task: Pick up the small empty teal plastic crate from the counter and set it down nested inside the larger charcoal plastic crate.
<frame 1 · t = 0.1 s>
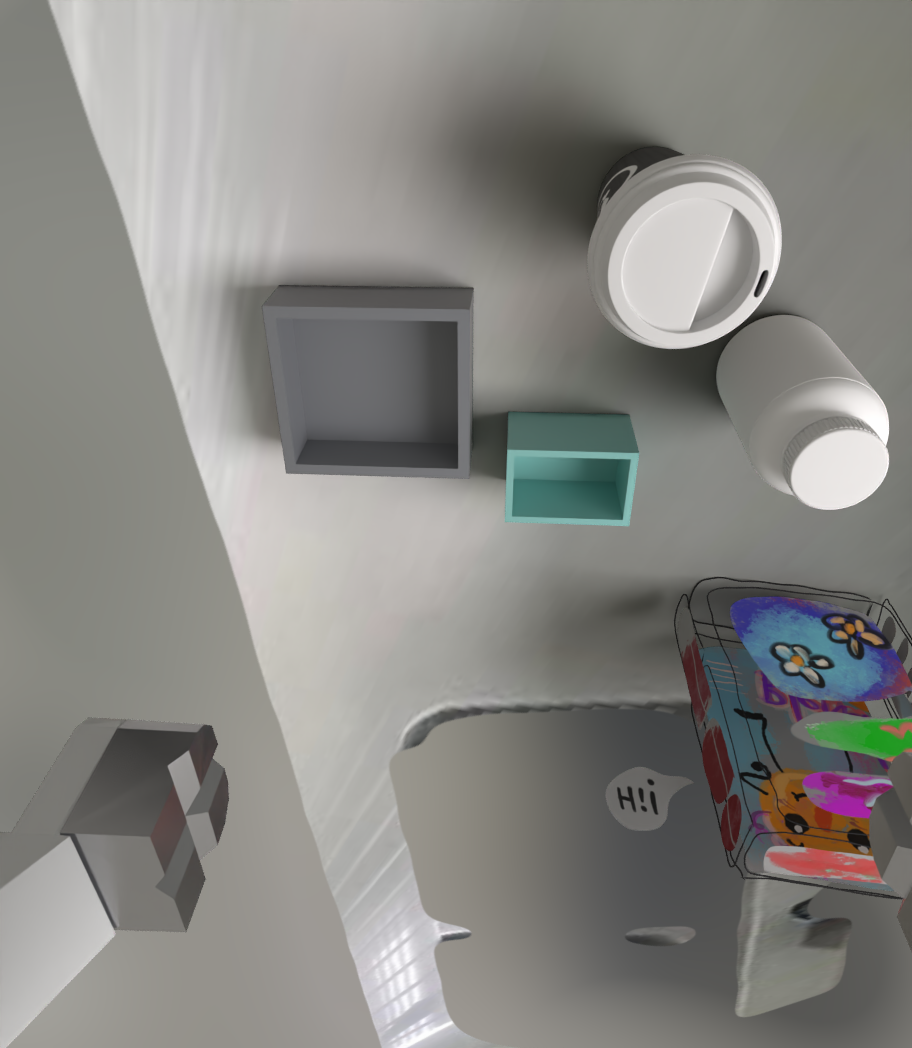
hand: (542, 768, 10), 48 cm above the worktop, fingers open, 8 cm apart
coffee cup: (647, 201, 51), on the worktop
small crate: (565, 448, 61), on the worktop
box: (727, 604, 68), on the worktop
large crate: (381, 371, 58), on the worktop
pill bottle: (769, 365, 56), on the worktop
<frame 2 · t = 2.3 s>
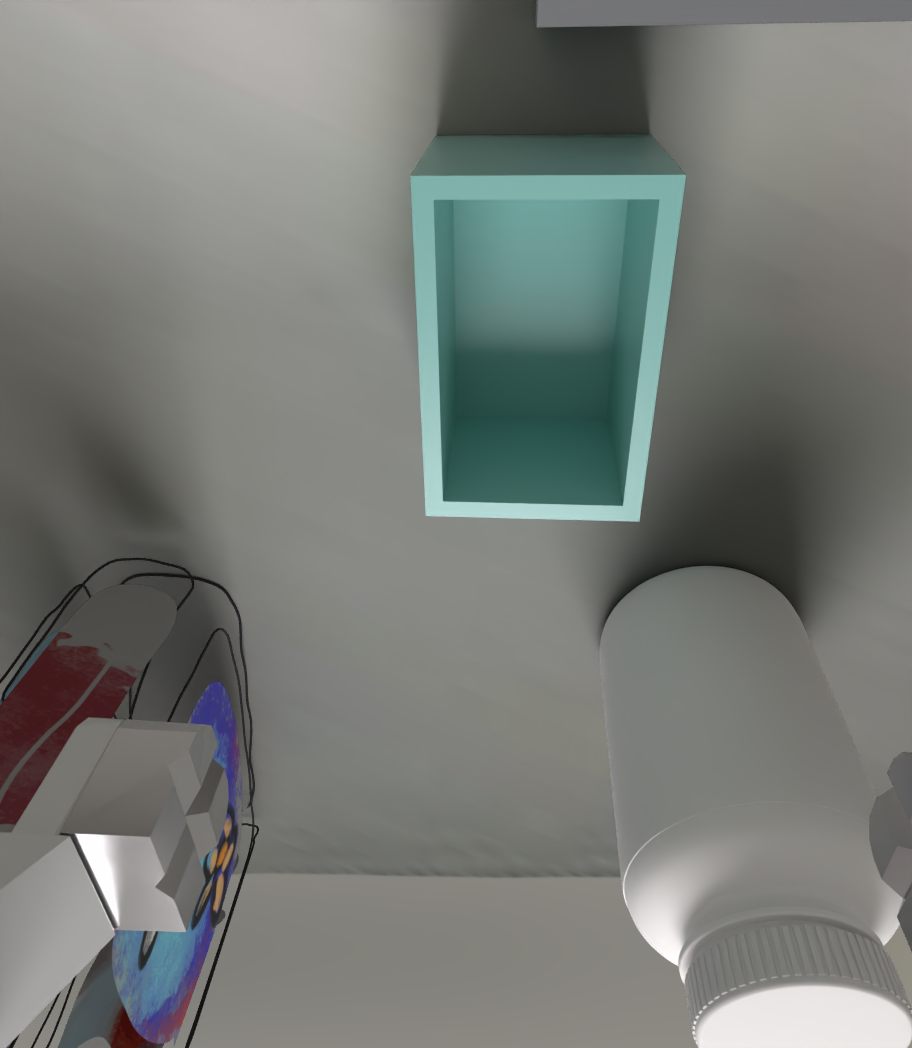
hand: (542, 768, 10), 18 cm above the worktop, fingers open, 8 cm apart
small crate: (535, 293, 25), on the worktop
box: (175, 631, 34), on the worktop
pill bottle: (694, 633, 32), on the worktop
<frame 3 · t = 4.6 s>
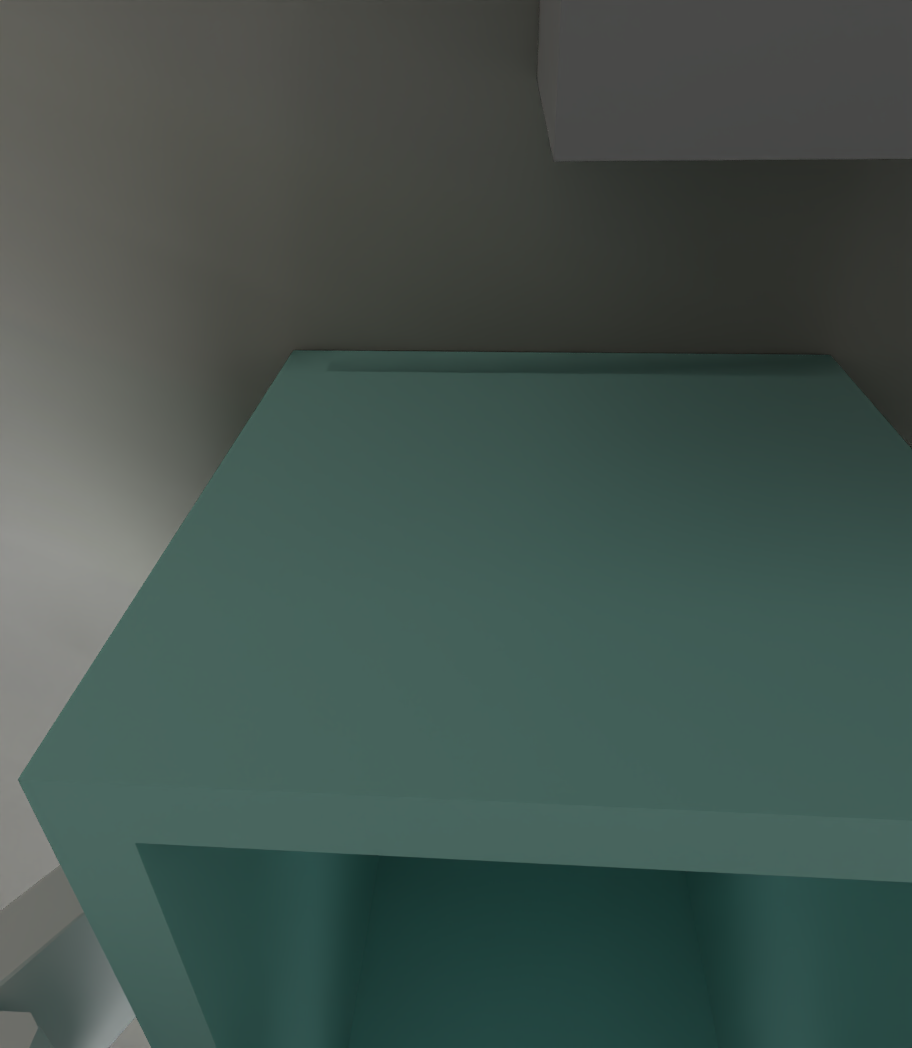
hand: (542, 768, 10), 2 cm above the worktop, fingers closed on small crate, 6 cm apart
small crate: (539, 650, 11), on the worktop, touching gripper
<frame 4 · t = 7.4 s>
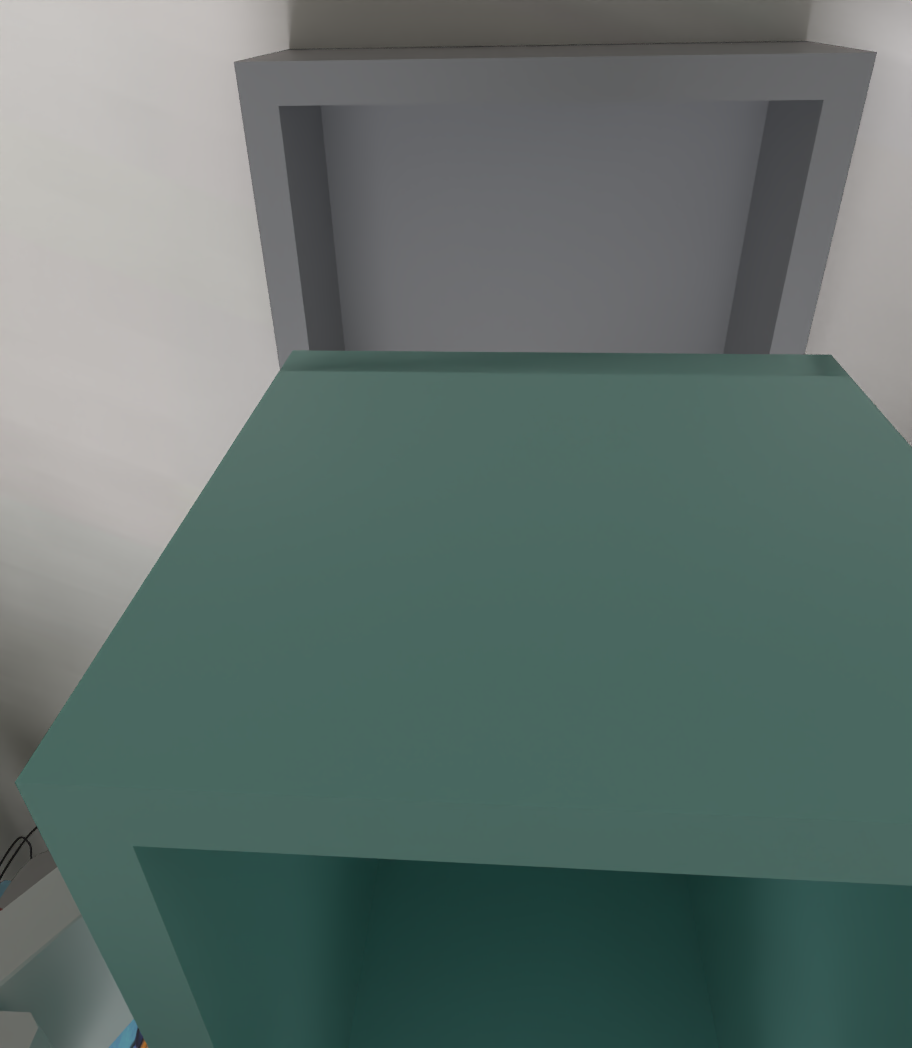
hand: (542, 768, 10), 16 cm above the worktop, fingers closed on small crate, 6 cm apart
small crate: (539, 650, 11), point 14 cm above the worktop, touching gripper
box: (103, 860, 41), on the worktop
large crate: (531, 317, 23), on the worktop
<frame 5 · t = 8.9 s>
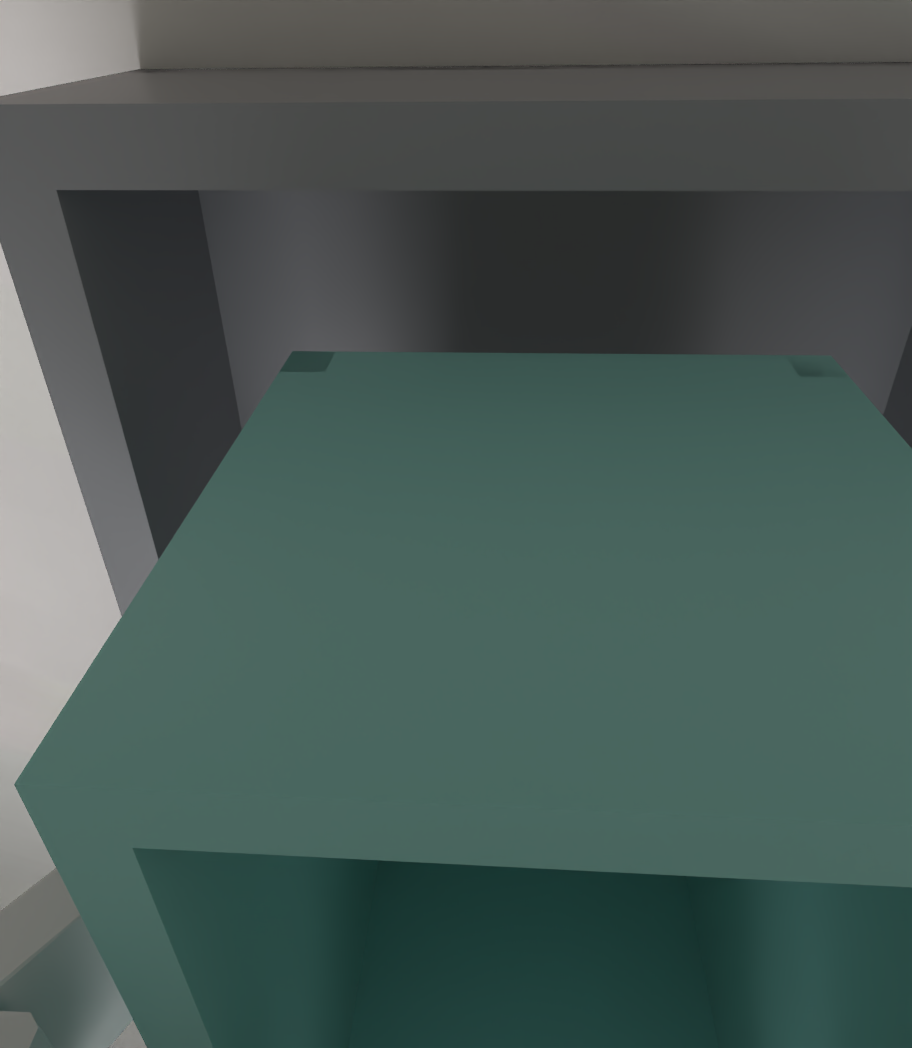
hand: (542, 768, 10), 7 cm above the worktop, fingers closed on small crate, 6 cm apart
small crate: (539, 651, 11), point 5 cm above the worktop, touching gripper
large crate: (545, 478, 15), on the worktop
when the fingers open (5 cm above the worktop, at t = 10.2 s): small crate drops 2 cm, resting on large crate.
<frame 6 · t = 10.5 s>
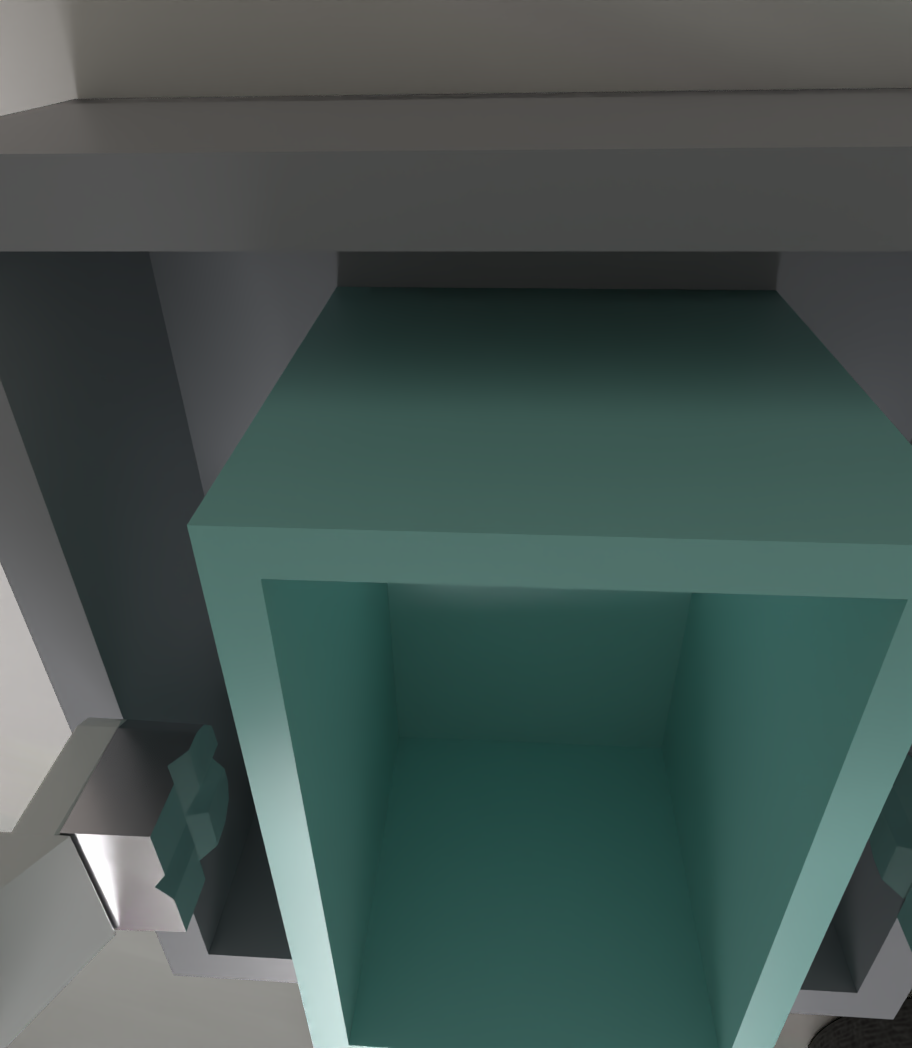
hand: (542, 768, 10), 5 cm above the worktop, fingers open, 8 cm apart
small crate: (537, 553, 13), point 1 cm above the worktop, touching large crate
large crate: (533, 533, 14), on the worktop
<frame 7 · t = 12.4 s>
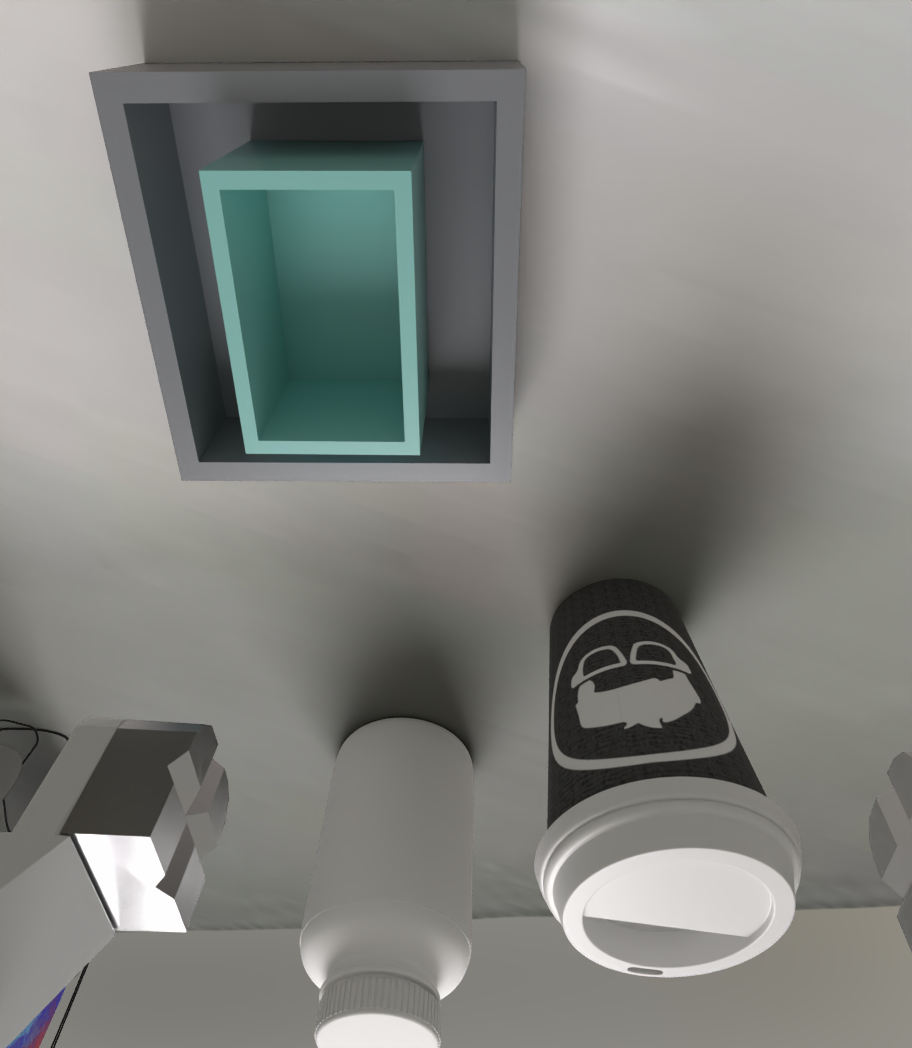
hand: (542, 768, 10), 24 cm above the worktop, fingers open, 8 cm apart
coffee cup: (613, 627, 40), on the worktop
small crate: (346, 272, 30), point 1 cm above the worktop, touching large crate
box: (34, 764, 47), on the worktop
large crate: (347, 267, 30), on the worktop
pill bottle: (405, 758, 46), on the worktop
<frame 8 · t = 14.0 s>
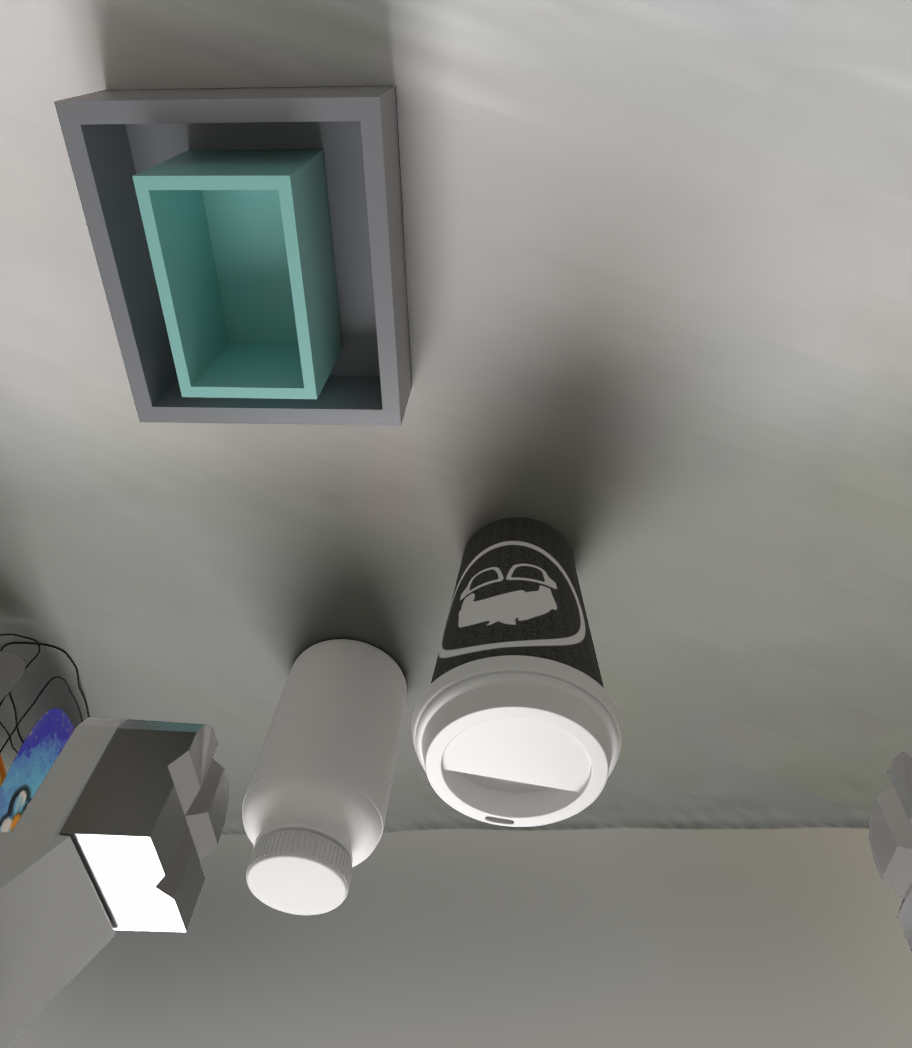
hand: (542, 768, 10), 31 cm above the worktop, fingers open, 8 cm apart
coffee cup: (517, 561, 47), on the worktop
small crate: (270, 255, 37), point 1 cm above the worktop, touching large crate
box: (39, 675, 55), on the worktop
large crate: (272, 251, 37), on the worktop
pill bottle: (349, 677, 53), on the worktop
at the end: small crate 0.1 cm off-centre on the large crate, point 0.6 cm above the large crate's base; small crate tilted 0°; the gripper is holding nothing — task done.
